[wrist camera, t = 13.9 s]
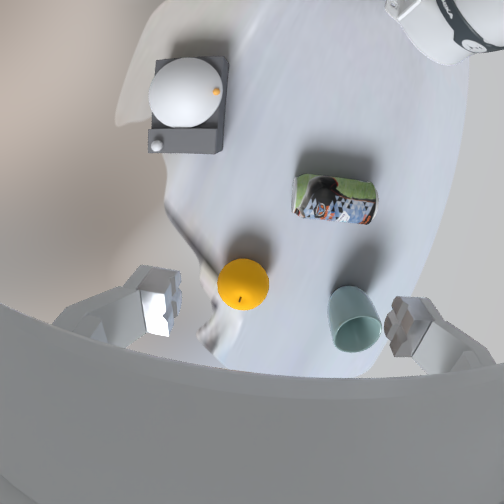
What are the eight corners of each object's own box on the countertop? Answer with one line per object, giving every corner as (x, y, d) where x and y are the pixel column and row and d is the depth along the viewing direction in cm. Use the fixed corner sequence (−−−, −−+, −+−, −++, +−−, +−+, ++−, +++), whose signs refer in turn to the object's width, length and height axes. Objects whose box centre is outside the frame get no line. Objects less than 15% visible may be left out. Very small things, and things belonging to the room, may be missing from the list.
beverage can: (368, 221, 40) (291, 225, 41) (366, 172, 38) (288, 175, 39) (383, 227, 33) (294, 232, 35) (381, 171, 32) (290, 173, 33)
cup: (330, 275, 45) (342, 313, 36) (371, 281, 45) (390, 317, 36) (319, 312, 48) (326, 351, 40) (357, 316, 48) (370, 354, 39)
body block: (166, 65, 32) (148, 58, 26) (231, 63, 32) (223, 53, 26) (161, 148, 38) (143, 153, 32) (224, 150, 37) (215, 155, 32)
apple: (277, 264, 45) (278, 290, 38) (257, 299, 48) (254, 328, 41) (232, 243, 44) (224, 267, 37) (214, 281, 47) (205, 308, 40)
